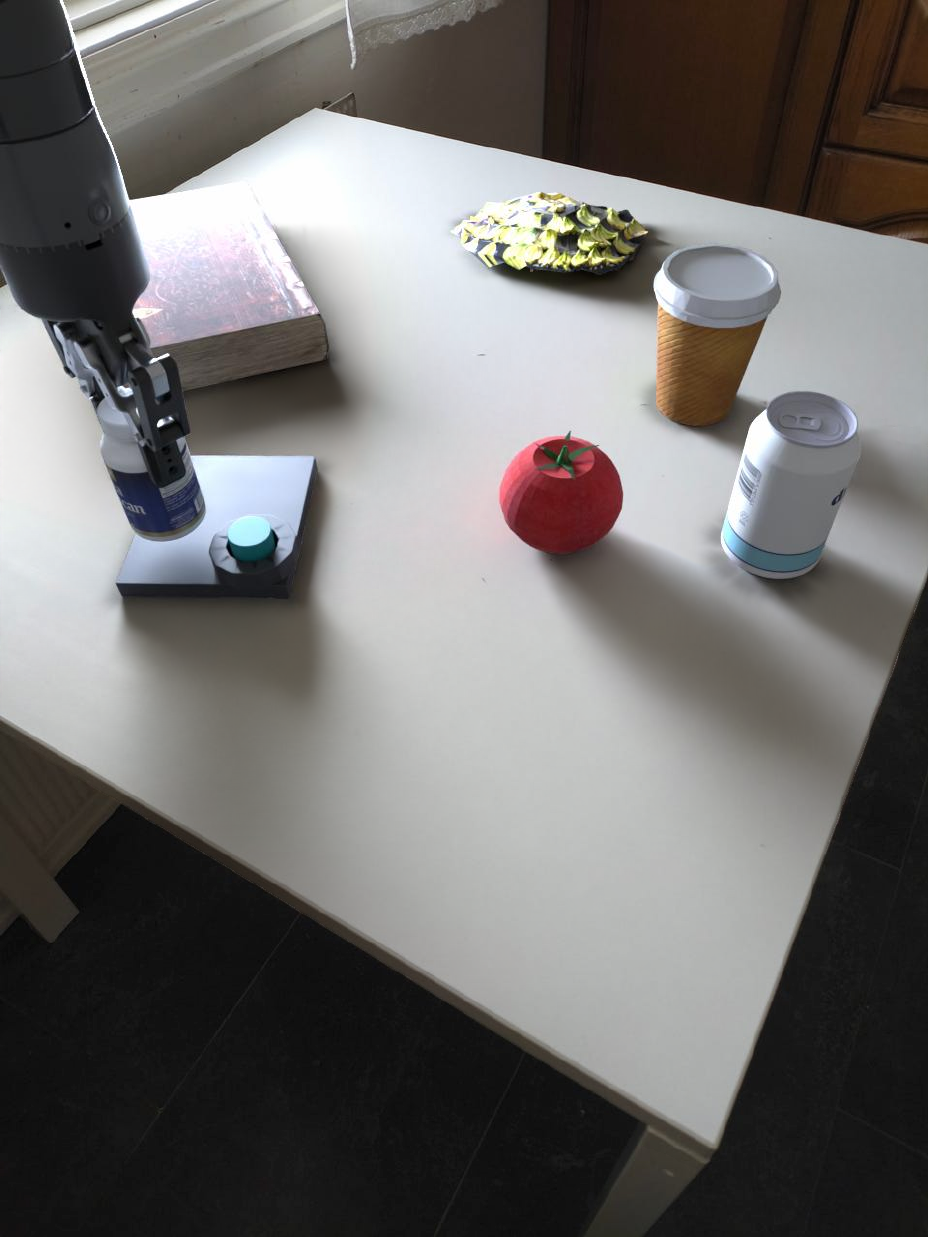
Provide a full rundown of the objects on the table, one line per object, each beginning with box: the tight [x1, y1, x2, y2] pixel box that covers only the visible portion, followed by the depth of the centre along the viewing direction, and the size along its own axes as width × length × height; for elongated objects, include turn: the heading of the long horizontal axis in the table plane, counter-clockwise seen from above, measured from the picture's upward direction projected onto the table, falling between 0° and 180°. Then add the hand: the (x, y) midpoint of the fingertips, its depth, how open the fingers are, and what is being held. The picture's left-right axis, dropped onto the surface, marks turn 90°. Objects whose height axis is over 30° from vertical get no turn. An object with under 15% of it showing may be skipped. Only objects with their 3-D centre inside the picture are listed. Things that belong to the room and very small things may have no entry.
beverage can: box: [720, 390, 862, 580], centre depth 61 cm, size 7×7×12 cm
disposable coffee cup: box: [653, 243, 782, 427], centre depth 72 cm, size 10×10×12 cm
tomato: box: [498, 430, 624, 555], centre depth 64 cm, size 9×9×8 cm
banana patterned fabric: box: [450, 191, 649, 276], centre depth 94 cm, size 20×16×6 cm
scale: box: [115, 454, 319, 600], centre depth 67 cm, size 14×12×3 cm
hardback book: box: [122, 180, 330, 392], centre depth 87 cm, size 29×19×5 cm, turn 22°
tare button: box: [227, 517, 275, 562], centre depth 62 cm, size 3×3×2 cm
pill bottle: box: [96, 388, 206, 542], centre depth 61 cm, size 5×5×10 cm
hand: (146, 458), depth 60 cm, fingers closed on pill bottle, 5 cm apart
